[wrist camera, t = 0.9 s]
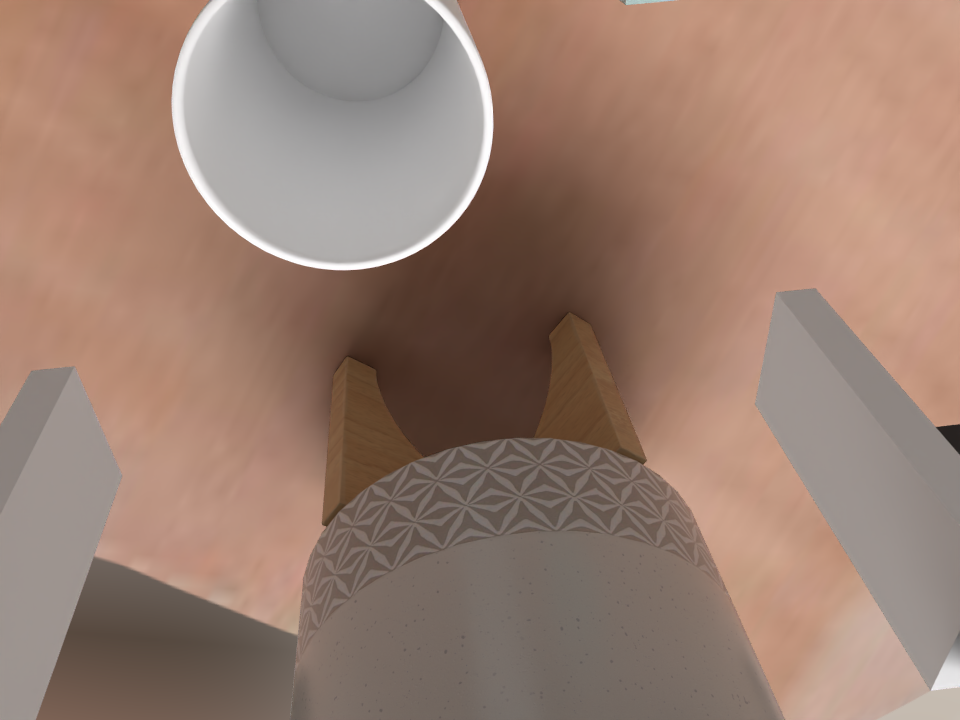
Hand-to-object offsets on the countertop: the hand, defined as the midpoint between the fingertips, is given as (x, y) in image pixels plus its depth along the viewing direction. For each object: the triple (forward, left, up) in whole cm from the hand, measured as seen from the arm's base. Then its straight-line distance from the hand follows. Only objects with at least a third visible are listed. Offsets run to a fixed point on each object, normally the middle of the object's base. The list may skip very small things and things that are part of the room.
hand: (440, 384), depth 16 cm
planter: (+21, +2, -24) cm, 33 cm away
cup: (-3, -2, -24) cm, 25 cm away
